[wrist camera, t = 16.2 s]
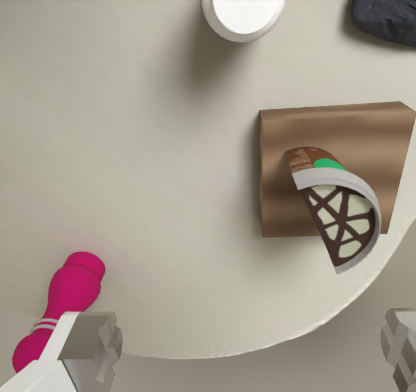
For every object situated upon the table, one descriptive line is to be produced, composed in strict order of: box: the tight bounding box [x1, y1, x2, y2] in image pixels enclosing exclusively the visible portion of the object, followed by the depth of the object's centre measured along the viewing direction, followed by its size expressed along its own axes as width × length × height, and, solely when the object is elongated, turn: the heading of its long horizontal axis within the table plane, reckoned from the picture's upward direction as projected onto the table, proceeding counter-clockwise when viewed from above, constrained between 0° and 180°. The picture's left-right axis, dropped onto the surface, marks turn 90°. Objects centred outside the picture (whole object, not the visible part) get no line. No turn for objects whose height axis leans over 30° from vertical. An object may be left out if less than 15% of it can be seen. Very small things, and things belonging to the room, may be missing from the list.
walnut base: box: [260, 102, 416, 237], centre depth 42 cm, size 16×16×4 cm
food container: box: [286, 147, 381, 274], centre depth 36 cm, size 12×6×10 cm, turn 28°
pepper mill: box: [12, 252, 105, 373], centre depth 47 cm, size 7×7×20 cm
